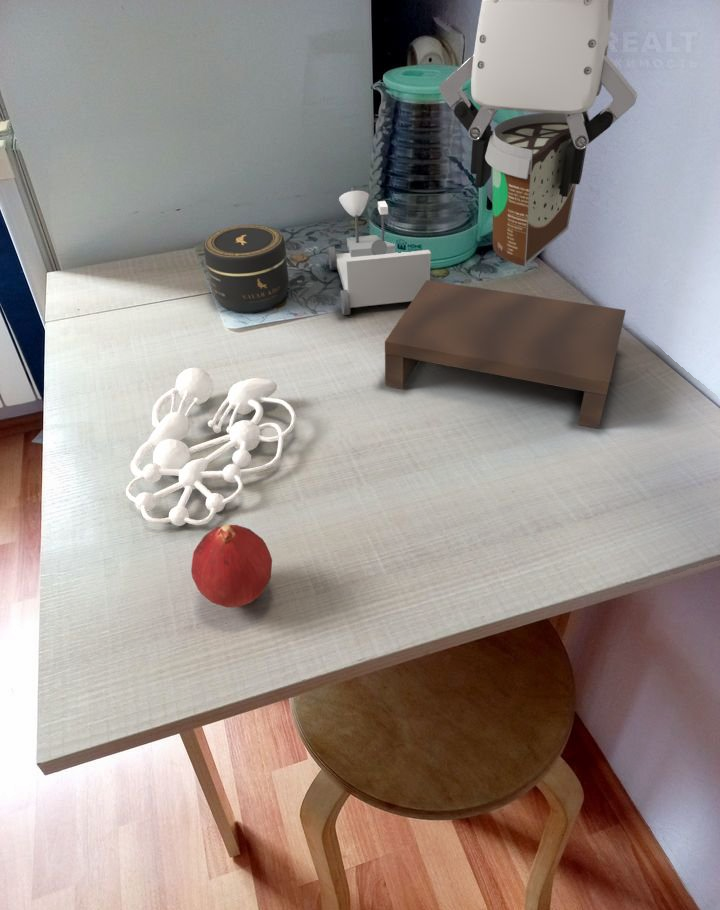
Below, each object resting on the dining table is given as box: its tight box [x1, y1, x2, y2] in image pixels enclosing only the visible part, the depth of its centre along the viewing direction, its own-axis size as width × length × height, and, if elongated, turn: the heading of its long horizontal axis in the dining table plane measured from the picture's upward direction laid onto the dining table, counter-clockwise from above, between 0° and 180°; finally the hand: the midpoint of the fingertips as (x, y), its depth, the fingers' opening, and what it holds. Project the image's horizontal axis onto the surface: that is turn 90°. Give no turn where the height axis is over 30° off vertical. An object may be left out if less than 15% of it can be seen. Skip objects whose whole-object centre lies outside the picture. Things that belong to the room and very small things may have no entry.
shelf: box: [384, 279, 626, 429], centre depth 75 cm, size 22×14×6 cm, turn 68°
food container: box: [485, 112, 577, 267], centre depth 63 cm, size 12×6×10 cm, turn 144°
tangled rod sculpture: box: [125, 367, 297, 527], centre depth 66 cm, size 19×14×4 cm
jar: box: [203, 224, 289, 314], centre depth 88 cm, size 10×10×8 cm
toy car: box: [327, 186, 432, 316], centre depth 90 cm, size 18×10×12 cm
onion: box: [190, 524, 273, 608], centre depth 52 cm, size 6×6×8 cm
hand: (523, 185), depth 63 cm, fingers closed on food container, 6 cm apart
